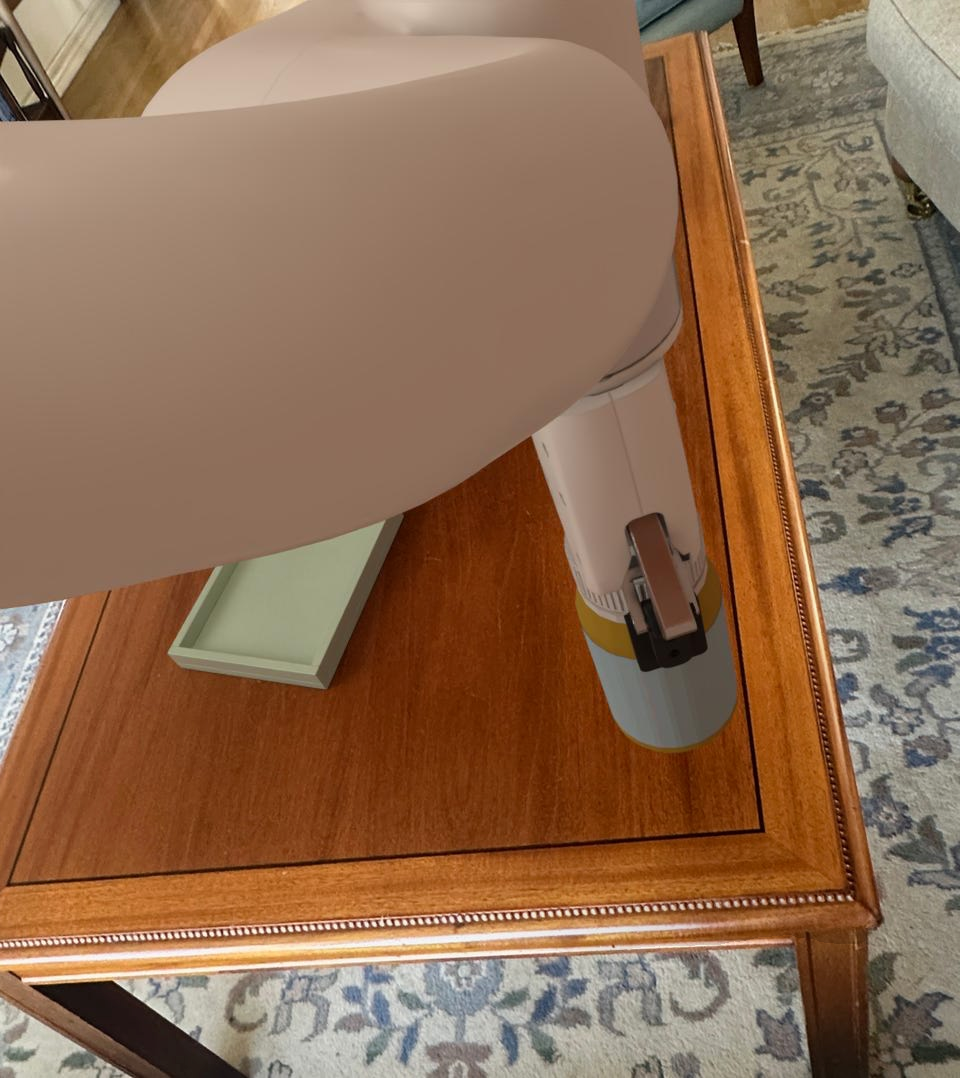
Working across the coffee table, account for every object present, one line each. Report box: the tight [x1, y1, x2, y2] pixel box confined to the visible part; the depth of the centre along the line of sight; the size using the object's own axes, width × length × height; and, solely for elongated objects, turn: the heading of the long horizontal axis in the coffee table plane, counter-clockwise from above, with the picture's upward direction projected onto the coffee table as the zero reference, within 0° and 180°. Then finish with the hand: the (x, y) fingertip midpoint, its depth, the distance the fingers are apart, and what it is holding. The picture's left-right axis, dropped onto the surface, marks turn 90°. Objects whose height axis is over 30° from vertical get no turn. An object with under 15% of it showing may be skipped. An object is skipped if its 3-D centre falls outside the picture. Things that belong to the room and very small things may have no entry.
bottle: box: [563, 508, 738, 754], centre depth 49 cm, size 7×7×15 cm
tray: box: [166, 512, 405, 690], centre depth 84 cm, size 18×15×2 cm
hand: (646, 593), depth 47 cm, fingers closed on bottle, 7 cm apart
